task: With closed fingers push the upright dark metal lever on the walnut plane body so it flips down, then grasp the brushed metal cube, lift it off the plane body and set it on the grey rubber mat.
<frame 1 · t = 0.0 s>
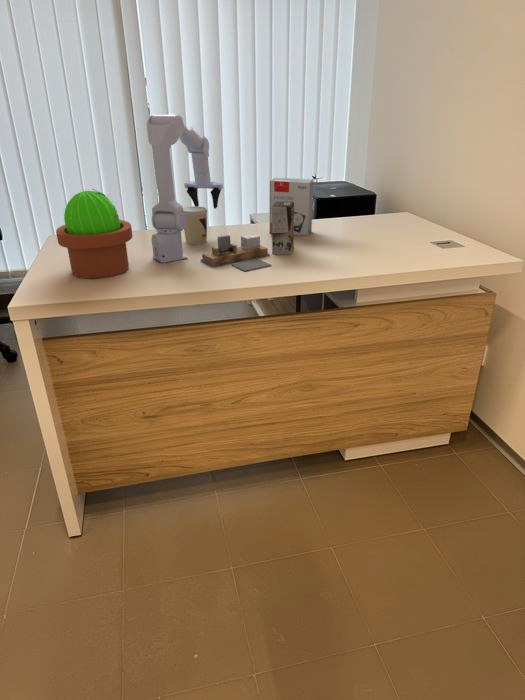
hand: (206, 207, 197), 11 cm above the table, tool pointing down, fingers open, 7 cm apart
brushed metal cube: (250, 248, 175), point 2 cm above the table, touching plane body
hard drive box: (290, 233, 203), on the table
coffee box: (283, 251, 180), on the table
mat: (251, 265, 166), on the table
coffee cup: (196, 242, 193), on the table
potted cactus: (101, 270, 164), on the table
plane body: (235, 258, 173), on the table
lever: (224, 244, 169), point 5 cm above the table, hinge at 0.0°
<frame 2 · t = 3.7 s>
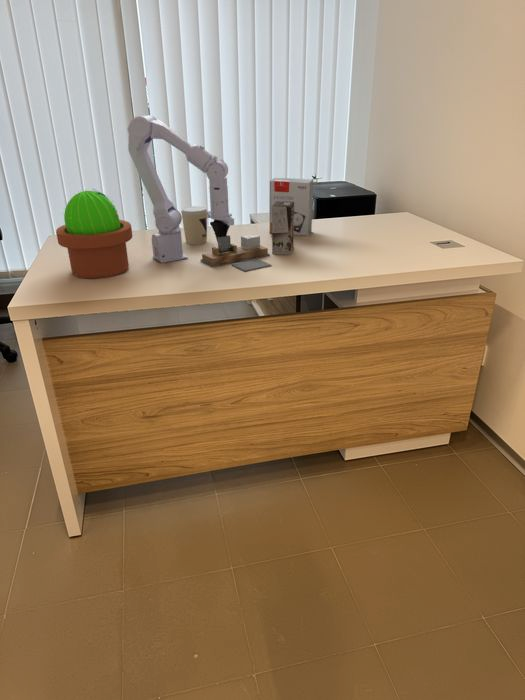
hand: (221, 243, 170), 5 cm above the table, tool pointing down, fingers closed, pressing on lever
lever: (224, 244, 169), point 5 cm above the table, hinge at 0.0°, touching gripper
everything else where it was.
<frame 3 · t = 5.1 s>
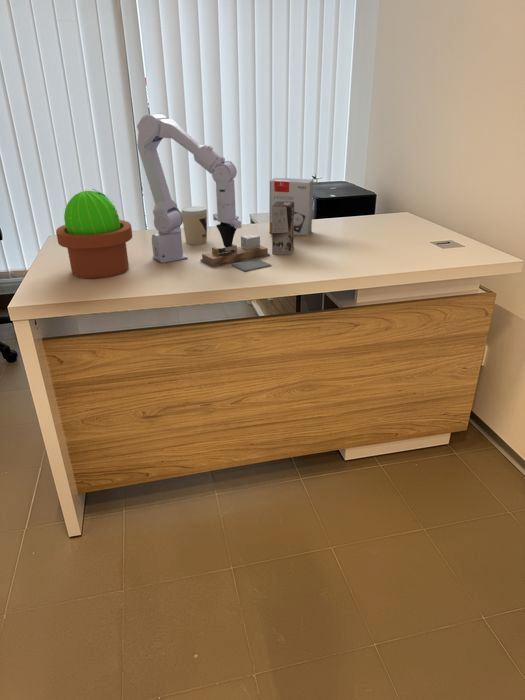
hand: (228, 246, 167), 5 cm above the table, tool pointing down, fingers closed, pressing on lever
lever: (227, 249, 168), point 4 cm above the table, hinge at 70.9°, touching gripper
everything else where it was.
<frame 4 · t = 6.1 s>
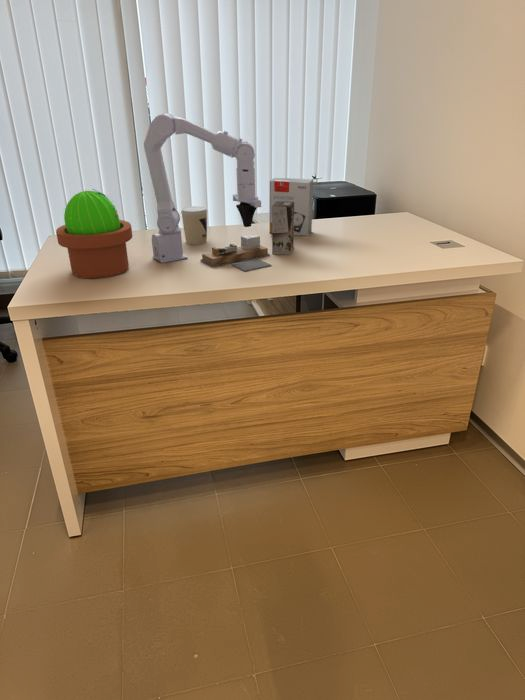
hand: (247, 226, 171), 10 cm above the table, tool pointing down, fingers closed
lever: (227, 249, 168), point 4 cm above the table, hinge at 75.8°
everything else where it was.
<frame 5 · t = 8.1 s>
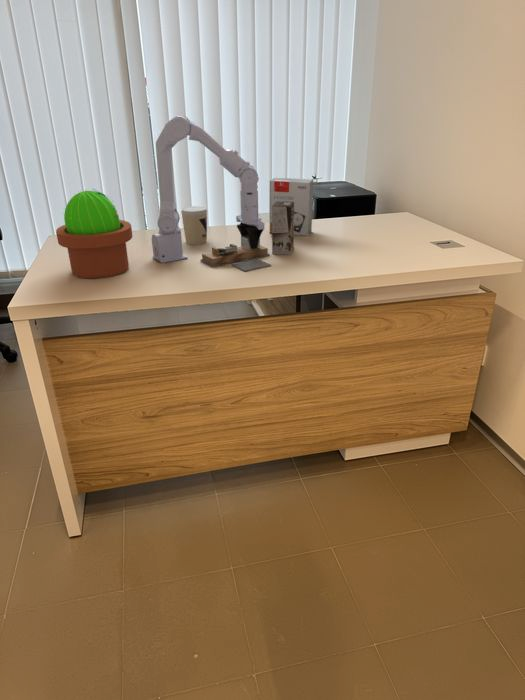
hand: (250, 246, 175), 3 cm above the table, tool pointing down, fingers closed on brushed metal cube, 4 cm apart
brushed metal cube: (250, 248, 175), point 2 cm above the table, touching gripper, plane body
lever: (227, 249, 168), point 4 cm above the table, hinge at 76.5°
everything else where it was.
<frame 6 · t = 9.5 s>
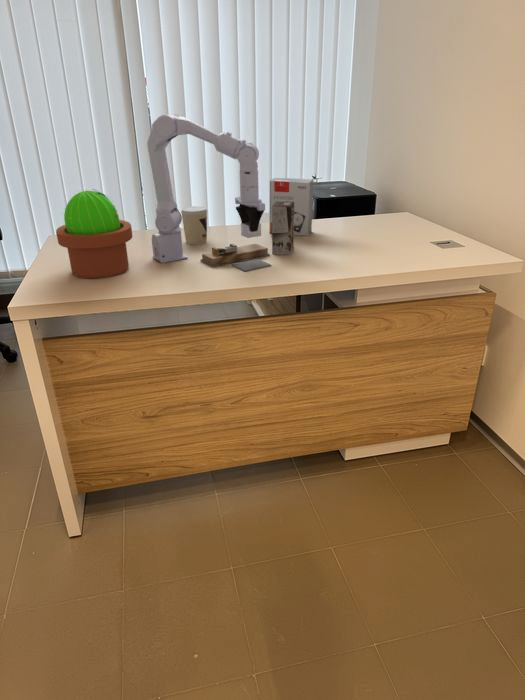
hand: (250, 229, 167), 10 cm above the table, tool pointing down, fingers closed on brushed metal cube, 4 cm apart
brushed metal cube: (251, 235, 168), point 8 cm above the table, touching gripper
everything else where it was.
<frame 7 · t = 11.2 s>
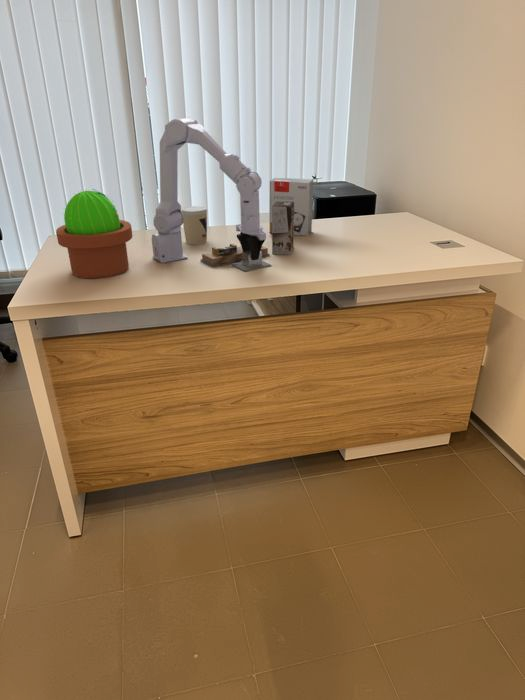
hand: (251, 257, 164), 3 cm above the table, tool pointing down, fingers closed on brushed metal cube, 4 cm apart
brushed metal cube: (252, 264, 166), resting on mat, touching gripper
everything else where it was.
when the fingers open (2 cm above the table, at t = 11.7 s): brushed metal cube stays where it is, resting on mat.
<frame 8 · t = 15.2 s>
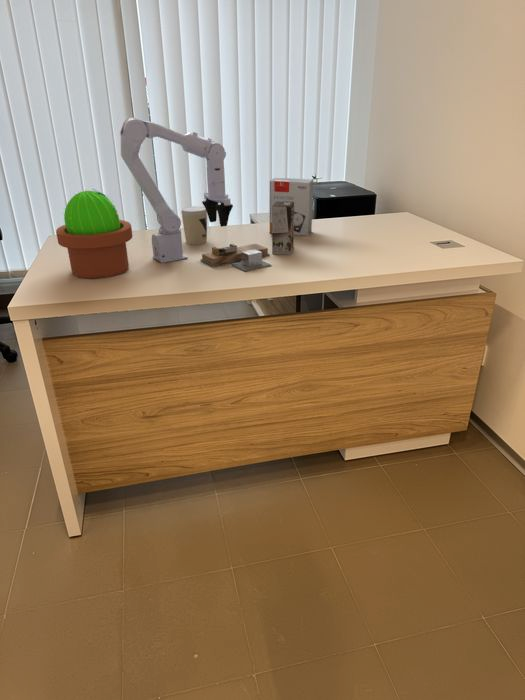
hand: (218, 223, 175), 10 cm above the table, tool pointing down, fingers open, 7 cm apart
brushed metal cube: (252, 264, 166), resting on mat
everything else where it was.
at the end: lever tilted 77°; brushed metal cube inside the target area on the mat (0.3 cm from its centre), point 0.4 cm above the mat's base; brushed metal cube touching mat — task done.
